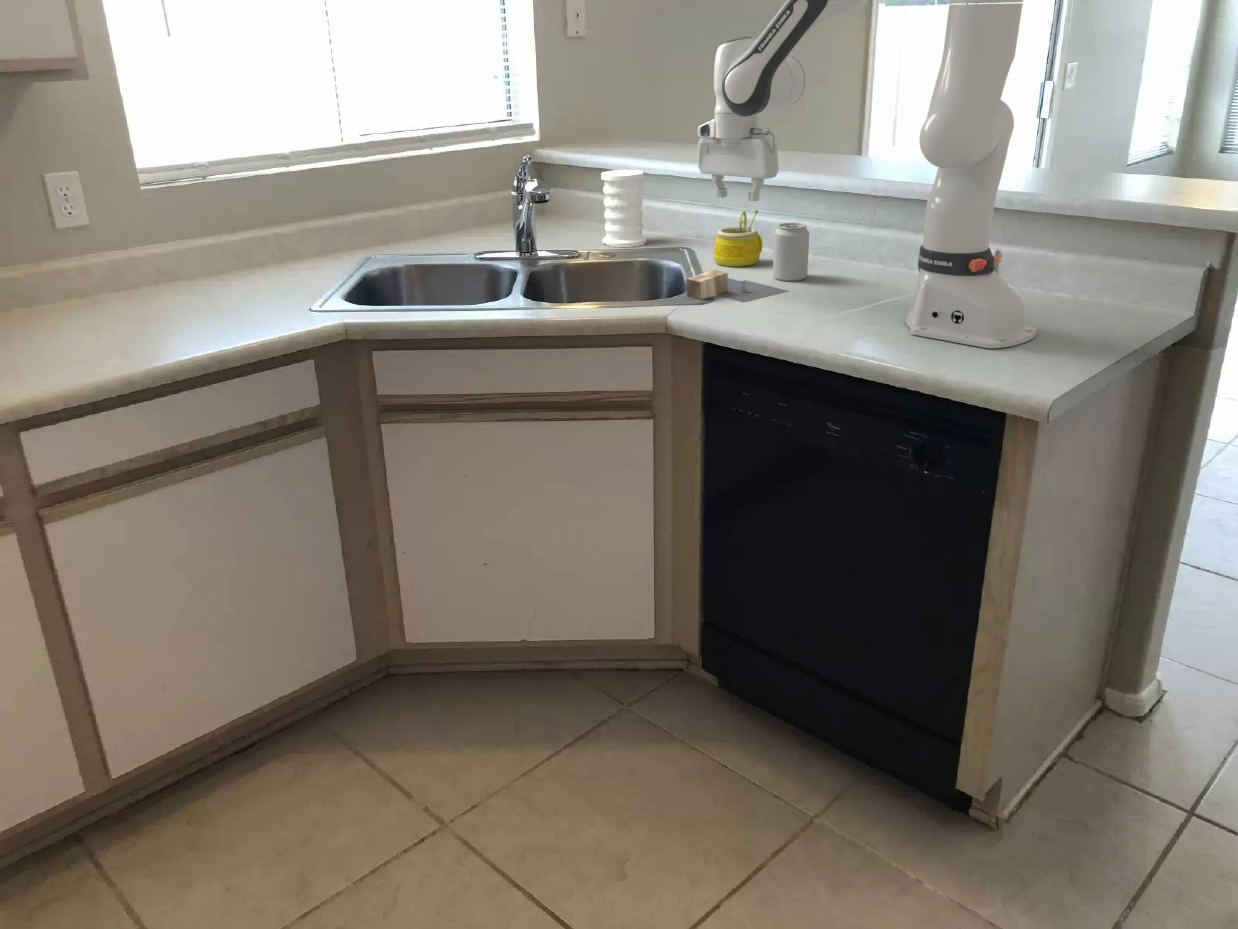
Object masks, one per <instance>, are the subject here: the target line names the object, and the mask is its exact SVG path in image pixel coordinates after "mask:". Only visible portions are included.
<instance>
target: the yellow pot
mask: <svg viewBox="0 0 1238 929" xmlns="http://www.w3.org/2000/svg"><path fill="white" fill-rule="evenodd" d="M758 213H759V210H758V209H755V211H754V215H753V217H752V219H751V221H750V224H749V226H747V222H748V220H747V217H748V216H747V212H746V211H745V210H742V211H741V213H740V215H739V216H740V217H739V226H727V227H722V228H720V229H718V230H717V231H716V233H715V235H716V238H715V243H714V249H713V259H714V262H715V264H718V265H719V266H722V267H727V268H728V267H730V268H740V267H741V268H743V267H744V268H745V267H748V266H749V267H750V266H752V265H755V264H757V263H758V262H759V260H760V258H761V257H760V256H761V253H762V251H763V250H762V249H763V239H762V237H761V235H760V234H759V232H758V231H757V229H756V228H753V227H752V225H753V223H754V220H755V218H756V216H757V214H758Z"/></svg>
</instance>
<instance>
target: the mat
mask: <svg viewBox="0 0 1238 929" xmlns="http://www.w3.org/2000/svg"><path fill="white" fill-rule="evenodd" d="M744 280H745V292H742V293H740V292H737V291H733V290H729V291H727V292H725V293H722V294H719V295H717V297H722V298H725V299H729V300H732V301H737V302H740V303H744V304H745V303H749V302H752V301H756V300H760V299H763V298H768V297H771V296H776V295H780V294H783V293H787V292H789V290H787V289H783V288H779V287H775V286H771V285H766V284H762V283H758V282H754V281H750V280H746V279H744Z"/></svg>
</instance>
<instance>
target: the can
mask: <svg viewBox="0 0 1238 929" xmlns="http://www.w3.org/2000/svg"><path fill="white" fill-rule="evenodd" d="M807 226H808V225H807V224H806V223H802V222H783V223H779V224H777V228H776V230H775V231H774V232H773V259H772V260H773V261H772V262H773V263H772V277H774V279H775V280H778V281H782V282H798V281H802V280H804V279H806V278H807V277H808V271H809V270H808V269H809V250H810V249H809V248H810V245H809V244H810V230H809V229H807Z"/></svg>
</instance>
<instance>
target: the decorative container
mask: <svg viewBox="0 0 1238 929" xmlns="http://www.w3.org/2000/svg"><path fill="white" fill-rule="evenodd" d="M600 176H601V177H600V179H601V180H603V181H604V182H603V183H604V186H603V188H602V192H603V193H604V199H603V205H604V208H605V211H604V213H603V215H604V219H605V225H604V230H605V233H606V235H605V237H603V238H602V244H603V243H606V244H609V245H614V246H636V245H641V244H644V243H646V244H647V237H646V236H645V235H643V229H644V223H643V220H642V219H643V216H644V213H643V212H644V211H643V209H642V205H643V201H644V200H643V198H642V192H643V185H642V181H641V180H642V179H644V171H642V170H637V169H618V170H617V169H615V170H608V171H603V172H601V174H600ZM644 245H645V244H644Z"/></svg>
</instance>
